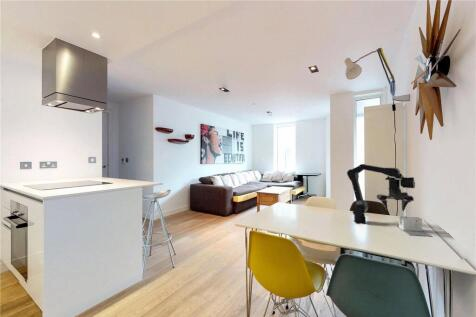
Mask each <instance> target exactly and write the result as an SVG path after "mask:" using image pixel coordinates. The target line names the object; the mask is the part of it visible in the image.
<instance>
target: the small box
mask: <svg viewBox="0 0 476 317" xmlns="http://www.w3.org/2000/svg"><path fill="white" fill-rule="evenodd" d="M398 226H399V228H398V229H400V228H401V229H402V231H403V230H406V231H423V219H422V218H421V217H420V216H410V215H409V216H408V215H399V216H398ZM401 229H400V230H401Z"/></svg>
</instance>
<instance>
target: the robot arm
mask: <svg viewBox="0 0 476 317" xmlns="http://www.w3.org/2000/svg"><path fill="white" fill-rule="evenodd" d="M362 171H370V172H375V173H381V174H384V175H385V176H387V177H385V179H384V180H385V181H388V187H387V189H388V194H387V195H385V194H380V193H379V194H377V195H376V199H377V200H379V201H380V202H381V203H382V205H383V207H384V209H385V210H386V211H388V200H389V199H390V200H395V201H401V210H402V212H404V211H405V209H406V208H407V205H408V204H409V203H412V202H413V201H415V200H414V199H415V198H414V197H413V196H412V195H410V194H408V192H405V191H403V192H402V190H401V187H402V188H404V189H415V188H416V182H415V177H407V176H404V175H403V174H402V173H401V170H400V169H399V168H397V167H383V166H377V165H370V164H366V163H360V164H359V165H357V166H356V167H354V168H351V169H348V171H346V175H347V177H348V179H349V180H350V182H351V185H352V189H353V193H354V196H355V200H356V202H355V209H354V210H353V211H352V213H353V222H354V223H355V224H361V225H362V224H365V225H366V224H367V222H366V221H367V220H366V219H367V218H366V216H365V213H366V212H368V210H369V205H368V201H365V200H364V197H363V194H362V190H361V186H360V182H359V179H360V178H359V177H360V176H359V175H360V173H361V172H362Z"/></svg>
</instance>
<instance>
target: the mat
mask: <svg viewBox="0 0 476 317" xmlns="http://www.w3.org/2000/svg"><path fill="white" fill-rule="evenodd" d="M395 227H396V228H398V229H400V230H402V229H401V228H399V225H398V224H397V225H396V226H395ZM402 231H403V232H404V233H406V234H407V235H409V236H414V237H416V236H417V237H427V236H428V237H430V238H433V236H432V235H431V234H429V233H427V232H426V231H424V230H422V231H406V230H402Z"/></svg>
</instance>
